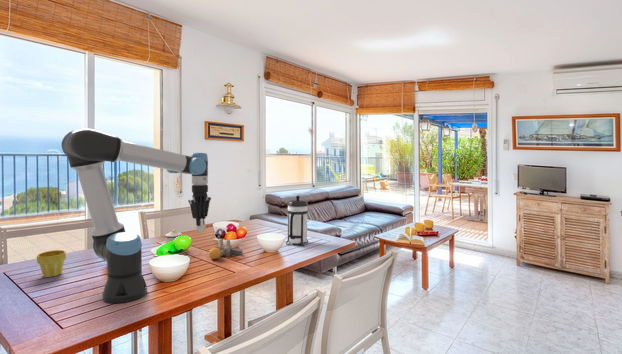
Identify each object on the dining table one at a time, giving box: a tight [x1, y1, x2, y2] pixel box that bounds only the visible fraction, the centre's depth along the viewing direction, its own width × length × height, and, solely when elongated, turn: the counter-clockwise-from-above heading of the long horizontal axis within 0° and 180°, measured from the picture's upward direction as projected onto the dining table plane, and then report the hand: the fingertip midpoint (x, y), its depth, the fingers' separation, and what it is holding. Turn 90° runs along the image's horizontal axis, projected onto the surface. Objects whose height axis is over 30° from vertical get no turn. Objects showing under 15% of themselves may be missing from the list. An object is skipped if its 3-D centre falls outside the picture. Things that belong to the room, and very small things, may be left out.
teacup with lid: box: [164, 229, 183, 244], centre depth 193 cm, size 12×9×12 cm
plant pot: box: [36, 249, 67, 278], centre depth 152 cm, size 10×10×10 cm
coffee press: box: [285, 195, 309, 247], centre depth 208 cm, size 17×16×30 cm
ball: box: [208, 247, 221, 260], centre depth 178 cm, size 6×6×6 cm
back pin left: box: [217, 238, 224, 251], centre depth 186 cm, size 2×2×8 cm
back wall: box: [223, 246, 243, 256], centre depth 189 cm, size 2×16×2 cm, turn 63°
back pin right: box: [224, 239, 231, 258], centre depth 183 cm, size 2×2×8 cm
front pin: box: [219, 244, 232, 258], centre depth 185 cm, size 2×2×8 cm
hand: (200, 231), depth 168 cm, fingers closed
